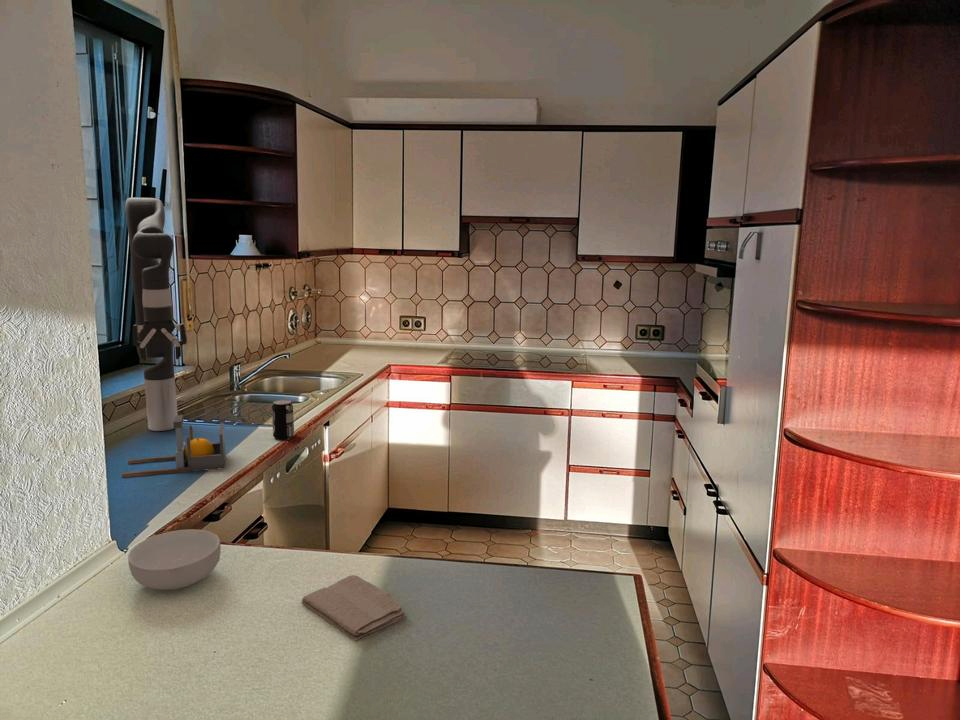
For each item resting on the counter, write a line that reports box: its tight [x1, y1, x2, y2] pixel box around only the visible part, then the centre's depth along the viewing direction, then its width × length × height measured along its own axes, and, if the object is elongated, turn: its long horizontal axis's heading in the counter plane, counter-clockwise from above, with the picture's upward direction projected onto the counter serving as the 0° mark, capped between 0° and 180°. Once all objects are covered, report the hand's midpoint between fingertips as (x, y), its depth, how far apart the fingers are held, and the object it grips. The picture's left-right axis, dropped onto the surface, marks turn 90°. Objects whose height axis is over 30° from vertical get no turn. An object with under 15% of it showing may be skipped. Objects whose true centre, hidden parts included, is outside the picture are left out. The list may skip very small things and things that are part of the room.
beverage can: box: [271, 398, 295, 441], centre depth 231 cm, size 7×7×12 cm
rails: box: [121, 455, 190, 478], centre depth 203 cm, size 12×17×1 cm
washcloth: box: [301, 574, 407, 643], centre depth 131 cm, size 12×18×3 cm, turn 47°
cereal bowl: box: [127, 528, 222, 591], centre depth 141 cm, size 17×17×7 cm
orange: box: [185, 437, 214, 462], centre depth 206 cm, size 8×8×8 cm
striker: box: [173, 414, 187, 468], centre depth 204 cm, size 9×2×14 cm, turn 18°
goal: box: [186, 422, 226, 472], centre depth 207 cm, size 12×9×10 cm
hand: (161, 359), depth 208 cm, fingers open, 8 cm apart
